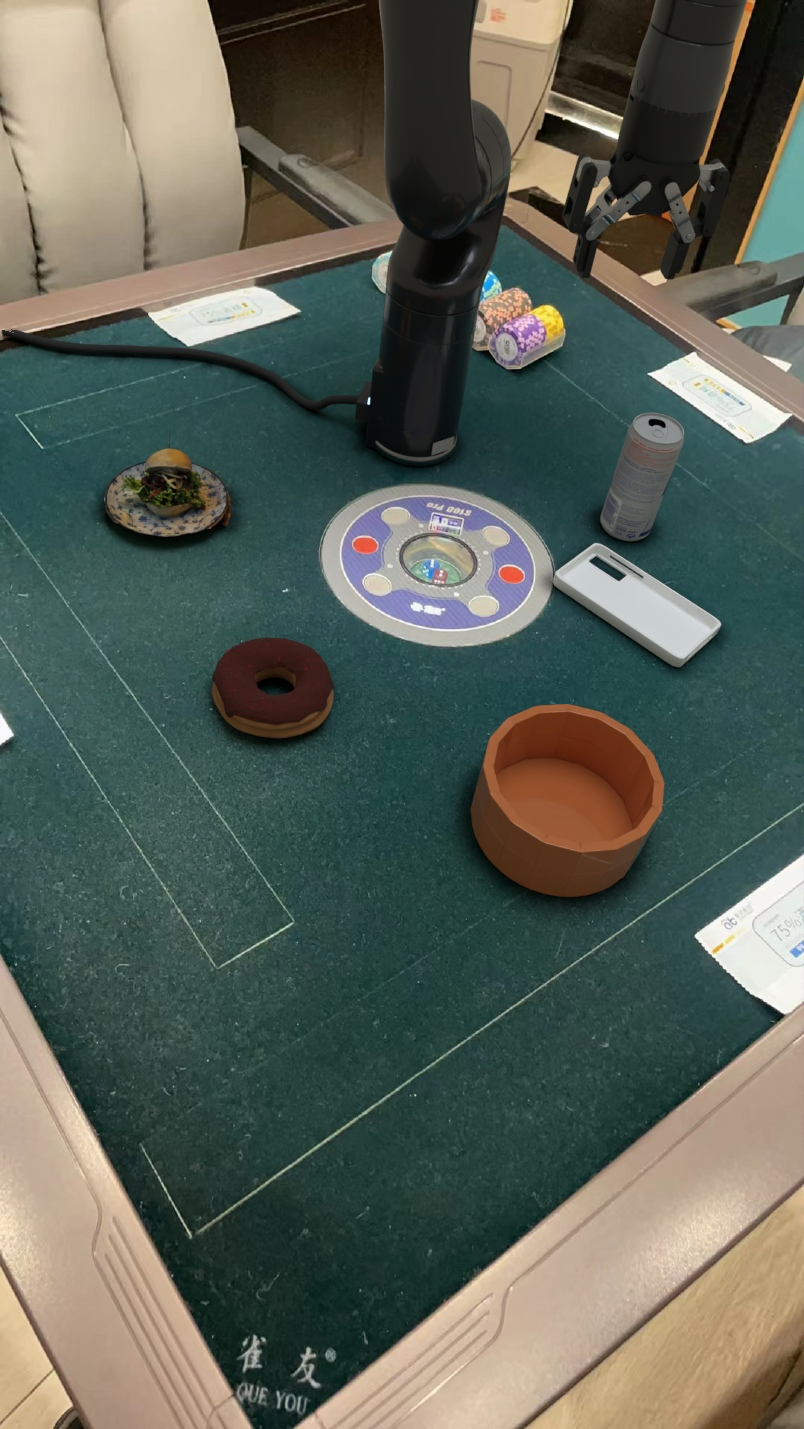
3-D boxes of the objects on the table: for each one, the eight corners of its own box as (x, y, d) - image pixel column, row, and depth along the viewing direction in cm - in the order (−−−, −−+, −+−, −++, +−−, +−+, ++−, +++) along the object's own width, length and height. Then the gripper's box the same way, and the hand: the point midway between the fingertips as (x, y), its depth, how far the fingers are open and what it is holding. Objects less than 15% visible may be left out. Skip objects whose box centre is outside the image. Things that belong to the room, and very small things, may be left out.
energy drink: (648, 513, 110) (684, 415, 101) (651, 546, 107) (688, 449, 98) (598, 505, 110) (629, 407, 101) (599, 538, 107) (631, 440, 98)
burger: (81, 524, 100) (70, 460, 94) (146, 458, 107) (140, 395, 101) (193, 566, 98) (189, 503, 92) (252, 496, 105) (252, 433, 99)
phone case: (549, 583, 102) (677, 670, 96) (552, 573, 101) (681, 660, 95) (594, 550, 105) (719, 632, 100) (597, 540, 104) (724, 622, 99)
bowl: (455, 871, 80) (469, 823, 75) (487, 737, 88) (501, 686, 83) (631, 916, 79) (657, 871, 74) (645, 777, 88) (669, 728, 83)
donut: (350, 679, 91) (353, 648, 88) (306, 762, 85) (308, 732, 82) (243, 643, 92) (242, 611, 89) (192, 723, 86) (190, 691, 83)
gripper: (738, 77, 92) (680, 257, 104) (583, 68, 89) (543, 253, 102) (770, 113, 87) (706, 296, 100) (608, 104, 85) (563, 294, 97)
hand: (624, 274), depth 101 cm, fingers open, 8 cm apart
